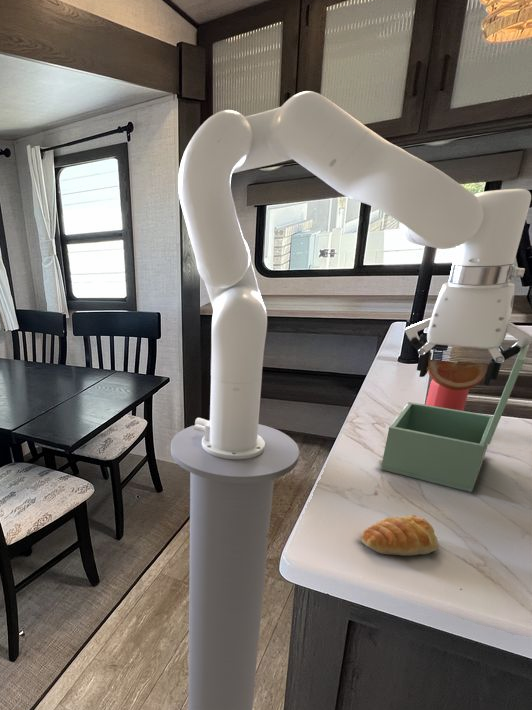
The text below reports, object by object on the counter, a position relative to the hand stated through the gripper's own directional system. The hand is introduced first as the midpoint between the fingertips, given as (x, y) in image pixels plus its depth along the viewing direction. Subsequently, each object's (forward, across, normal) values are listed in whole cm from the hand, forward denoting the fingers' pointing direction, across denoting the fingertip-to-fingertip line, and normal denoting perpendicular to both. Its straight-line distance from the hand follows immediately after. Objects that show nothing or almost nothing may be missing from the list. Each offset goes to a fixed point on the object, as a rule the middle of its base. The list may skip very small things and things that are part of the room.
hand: (454, 378), depth 81 cm
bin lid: (+1, -7, 0) cm, 7 cm away
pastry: (+17, -1, +29) cm, 34 cm away
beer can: (+17, +2, -19) cm, 26 cm away
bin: (+17, 0, 0) cm, 17 cm away
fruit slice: (+2, 0, 0) cm, 2 cm away
